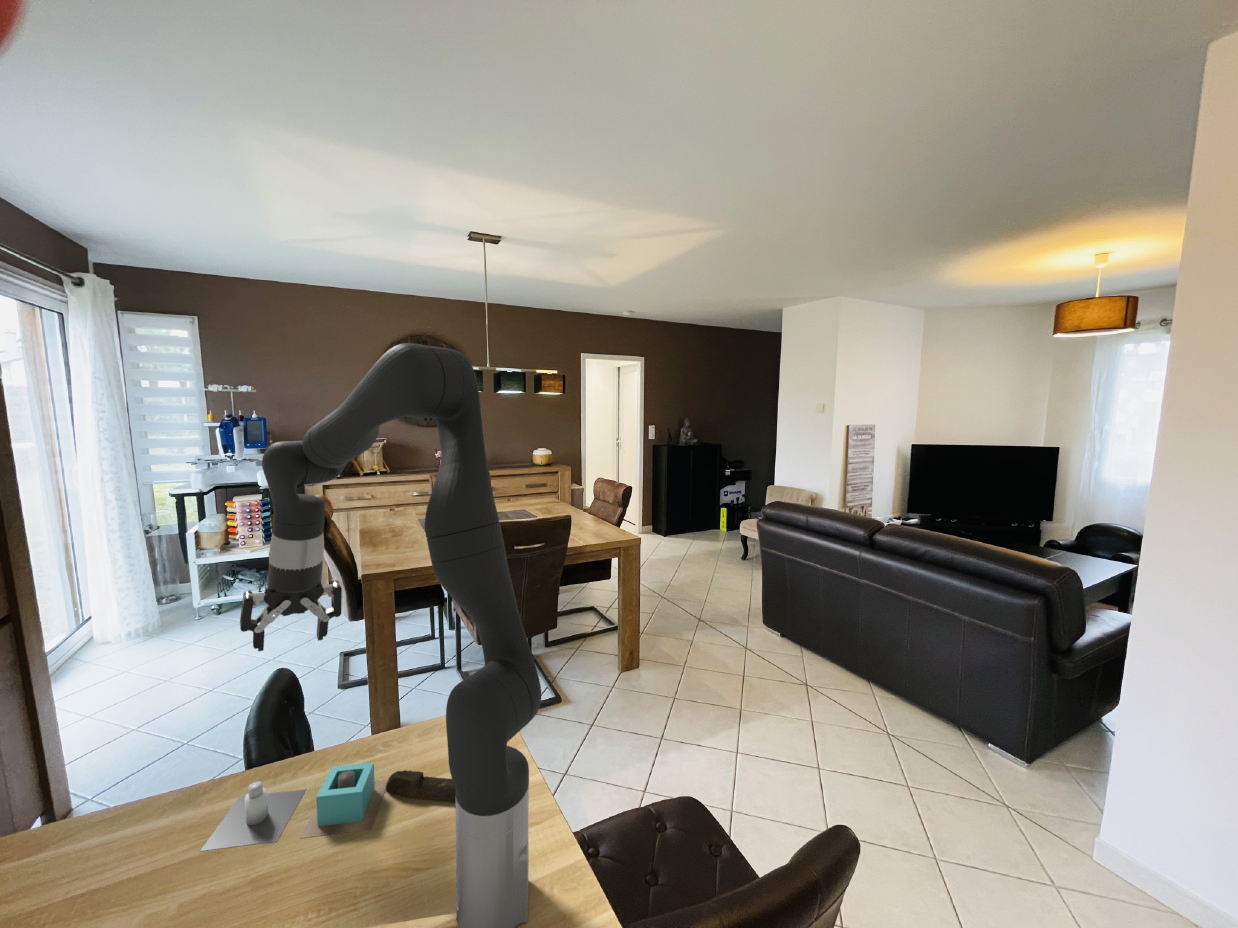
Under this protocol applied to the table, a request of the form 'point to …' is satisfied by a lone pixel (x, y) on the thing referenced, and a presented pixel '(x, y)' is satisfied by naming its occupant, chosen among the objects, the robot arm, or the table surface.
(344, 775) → the rod stand
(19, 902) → the table surface
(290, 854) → the table surface
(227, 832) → the grey peg base
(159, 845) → the table surface
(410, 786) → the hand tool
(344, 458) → the robot arm
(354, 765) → the collar
